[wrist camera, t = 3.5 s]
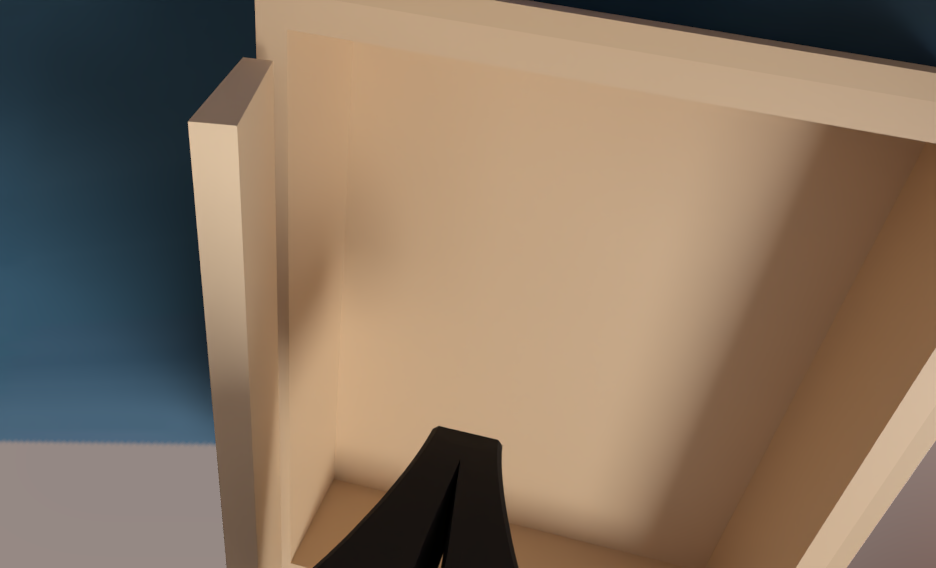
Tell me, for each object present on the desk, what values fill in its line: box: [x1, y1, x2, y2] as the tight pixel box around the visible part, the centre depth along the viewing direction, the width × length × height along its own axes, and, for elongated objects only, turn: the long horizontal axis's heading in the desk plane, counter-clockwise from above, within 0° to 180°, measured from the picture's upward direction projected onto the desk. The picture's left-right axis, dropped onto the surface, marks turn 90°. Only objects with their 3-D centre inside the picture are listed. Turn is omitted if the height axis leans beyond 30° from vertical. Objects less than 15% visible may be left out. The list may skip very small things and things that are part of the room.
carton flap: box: [188, 57, 282, 568], centre depth 11 cm, size 4×14×1 cm
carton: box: [255, 0, 936, 568], centre depth 15 cm, size 14×17×4 cm
